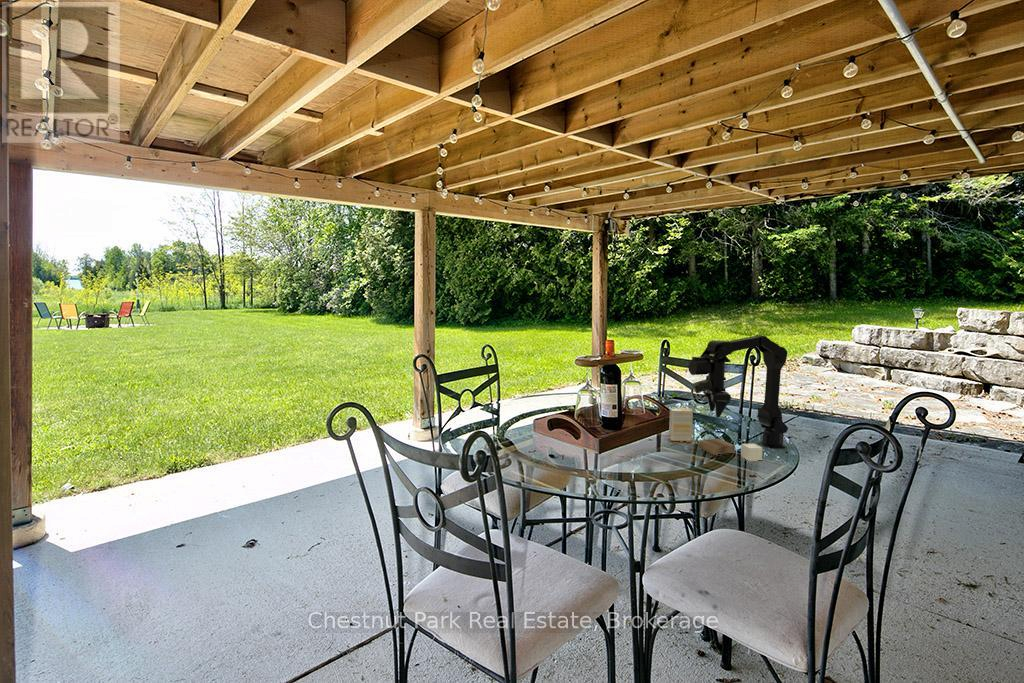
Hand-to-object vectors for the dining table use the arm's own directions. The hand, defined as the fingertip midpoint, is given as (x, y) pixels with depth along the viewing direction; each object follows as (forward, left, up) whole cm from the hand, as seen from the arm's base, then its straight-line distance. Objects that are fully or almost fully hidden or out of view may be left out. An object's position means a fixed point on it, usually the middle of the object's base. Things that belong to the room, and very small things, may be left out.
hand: (714, 414), depth 195 cm
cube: (-8, +12, -14) cm, 20 cm away
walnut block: (0, +2, -14) cm, 14 cm away
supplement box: (+8, -12, -14) cm, 20 cm away
